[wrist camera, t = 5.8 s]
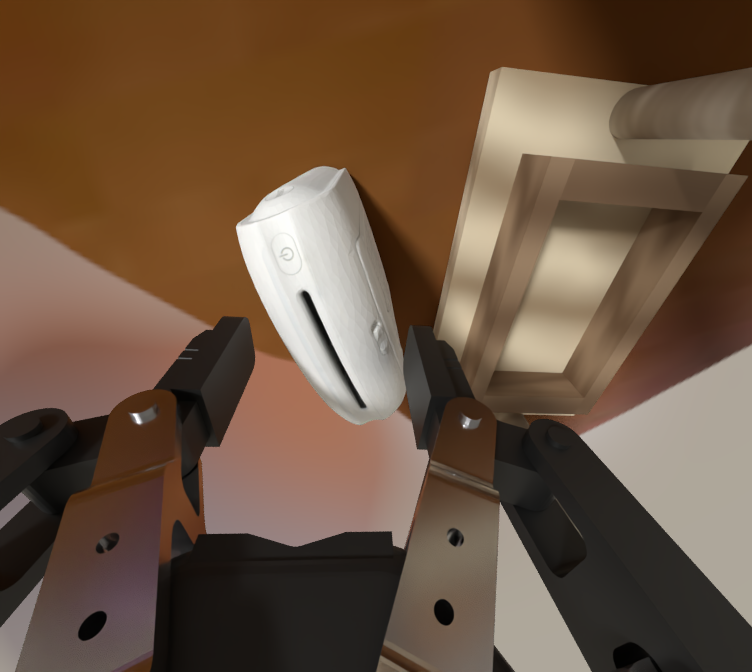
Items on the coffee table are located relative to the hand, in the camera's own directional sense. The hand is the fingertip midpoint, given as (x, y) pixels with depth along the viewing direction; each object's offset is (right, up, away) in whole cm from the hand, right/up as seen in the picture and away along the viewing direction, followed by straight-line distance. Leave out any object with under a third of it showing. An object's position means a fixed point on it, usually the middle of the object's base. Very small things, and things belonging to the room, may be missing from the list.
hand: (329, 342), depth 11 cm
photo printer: (0, +6, +10) cm, 12 cm away
